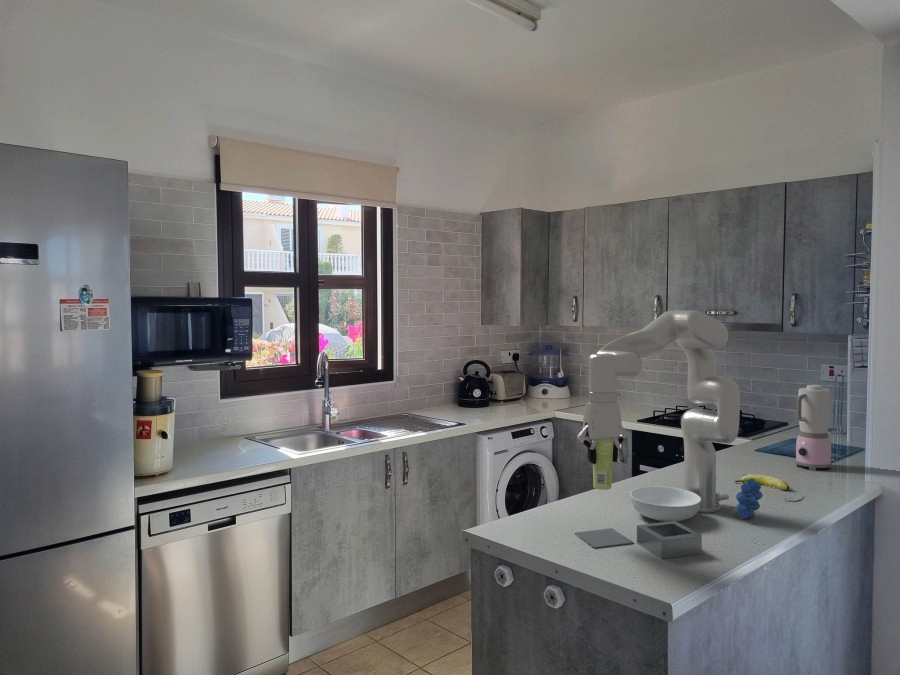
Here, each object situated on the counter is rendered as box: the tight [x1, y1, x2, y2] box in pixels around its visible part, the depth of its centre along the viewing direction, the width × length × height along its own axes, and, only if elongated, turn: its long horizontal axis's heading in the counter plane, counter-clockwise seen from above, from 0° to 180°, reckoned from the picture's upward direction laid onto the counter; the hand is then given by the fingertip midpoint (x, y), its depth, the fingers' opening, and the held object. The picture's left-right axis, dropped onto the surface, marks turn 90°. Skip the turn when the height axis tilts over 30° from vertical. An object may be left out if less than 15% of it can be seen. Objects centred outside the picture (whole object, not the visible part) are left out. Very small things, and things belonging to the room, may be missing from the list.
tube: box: [592, 438, 614, 491], centre depth 189 cm, size 6×5×20 cm
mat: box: [574, 527, 634, 549], centre depth 190 cm, size 12×12×1 cm
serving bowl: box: [629, 485, 701, 522], centre depth 208 cm, size 21×21×7 cm
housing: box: [636, 521, 703, 560], centre depth 182 cm, size 12×12×5 cm
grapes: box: [735, 478, 763, 520], centre depth 206 cm, size 12×7×12 cm, turn 125°
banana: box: [734, 473, 790, 491], centre depth 240 cm, size 35×27×4 cm
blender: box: [795, 384, 832, 471], centre depth 263 cm, size 16×12×32 cm
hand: (602, 461), depth 189 cm, fingers closed on tube, 5 cm apart
